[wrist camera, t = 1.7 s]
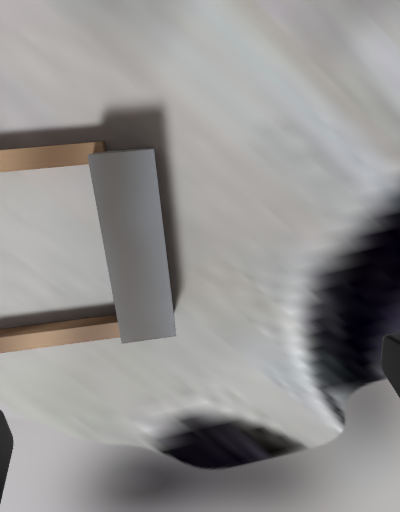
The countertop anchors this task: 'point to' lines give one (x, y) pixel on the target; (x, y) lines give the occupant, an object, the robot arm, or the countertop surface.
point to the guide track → (110, 246)
